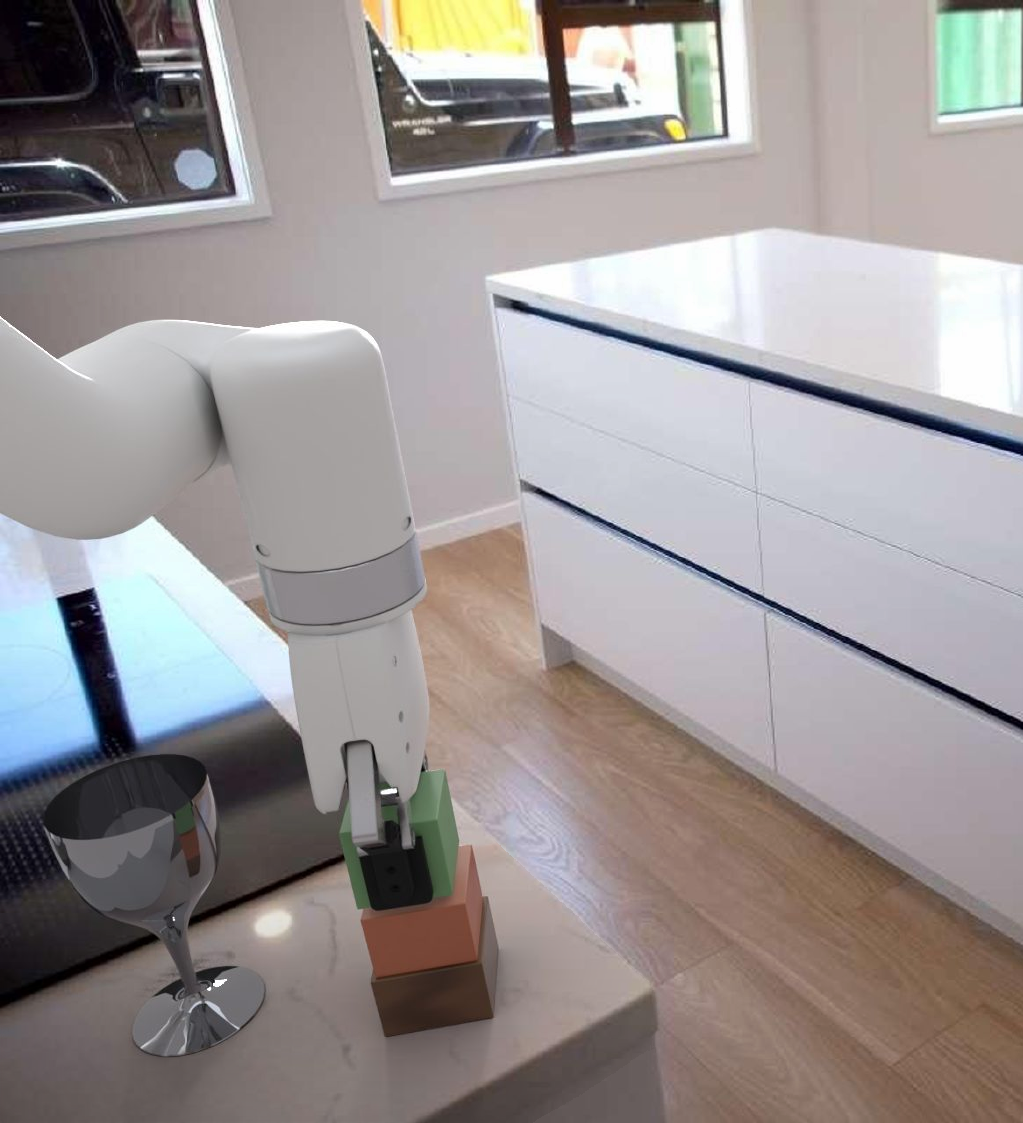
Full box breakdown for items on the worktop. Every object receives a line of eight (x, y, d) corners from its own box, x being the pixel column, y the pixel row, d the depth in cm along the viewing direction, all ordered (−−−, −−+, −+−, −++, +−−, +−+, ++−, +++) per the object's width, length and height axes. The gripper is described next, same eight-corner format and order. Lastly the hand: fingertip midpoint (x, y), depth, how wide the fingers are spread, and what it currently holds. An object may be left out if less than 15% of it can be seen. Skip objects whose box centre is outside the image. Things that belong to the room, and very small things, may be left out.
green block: (357, 910, 68) (338, 834, 66) (369, 854, 73) (352, 780, 71) (452, 895, 69) (437, 819, 67) (459, 841, 74) (445, 768, 72)
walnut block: (384, 1037, 71) (369, 982, 70) (397, 964, 77) (383, 912, 75) (493, 1018, 72) (481, 963, 71) (498, 947, 78) (487, 894, 76)
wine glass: (301, 988, 75) (238, 775, 69) (179, 1082, 69) (98, 857, 63) (217, 946, 79) (151, 740, 73) (94, 1031, 73) (10, 814, 67)
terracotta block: (375, 978, 70) (360, 920, 68) (387, 914, 75) (373, 858, 73) (477, 960, 71) (465, 903, 69) (483, 898, 76) (471, 843, 74)
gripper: (297, 520, 71) (361, 794, 78) (223, 665, 55) (311, 989, 63) (437, 505, 72) (486, 777, 79) (402, 643, 56) (468, 963, 64)
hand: (408, 867), depth 71 cm, fingers closed on green block, 5 cm apart
